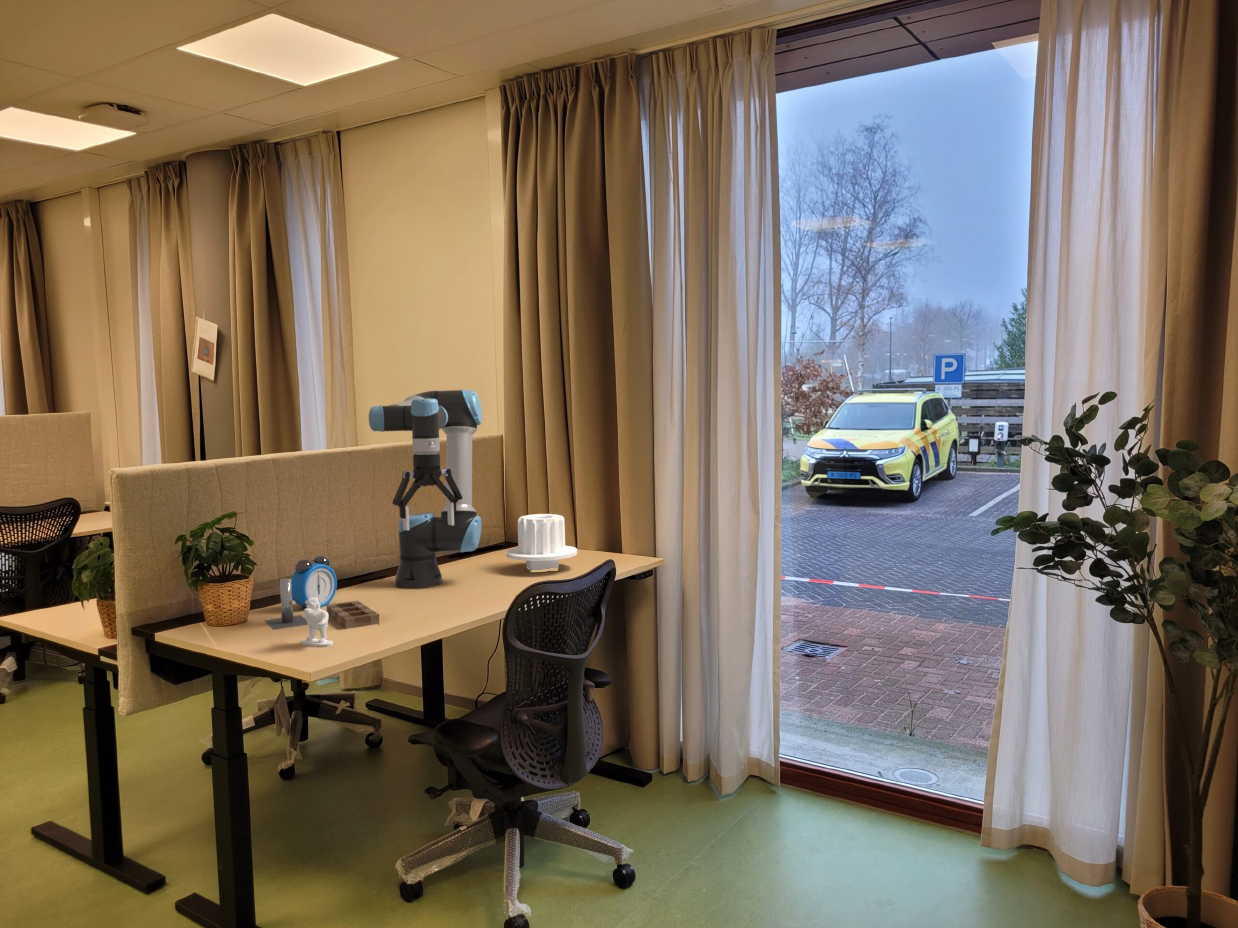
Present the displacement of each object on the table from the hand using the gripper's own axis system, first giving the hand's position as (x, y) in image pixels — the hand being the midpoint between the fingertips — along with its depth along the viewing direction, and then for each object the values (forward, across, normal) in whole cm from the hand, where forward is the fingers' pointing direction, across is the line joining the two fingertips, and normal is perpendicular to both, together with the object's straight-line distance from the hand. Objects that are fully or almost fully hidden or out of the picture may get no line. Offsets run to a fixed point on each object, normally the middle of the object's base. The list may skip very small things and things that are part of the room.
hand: (429, 527), depth 259 cm
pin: (+24, -37, +15) cm, 46 cm away
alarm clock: (+25, -25, +29) cm, 46 cm away
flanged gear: (+25, +56, +34) cm, 71 cm away
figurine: (+25, -37, -12) cm, 46 cm away
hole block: (+25, -21, +7) cm, 33 cm away
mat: (+25, -37, +15) cm, 47 cm away
